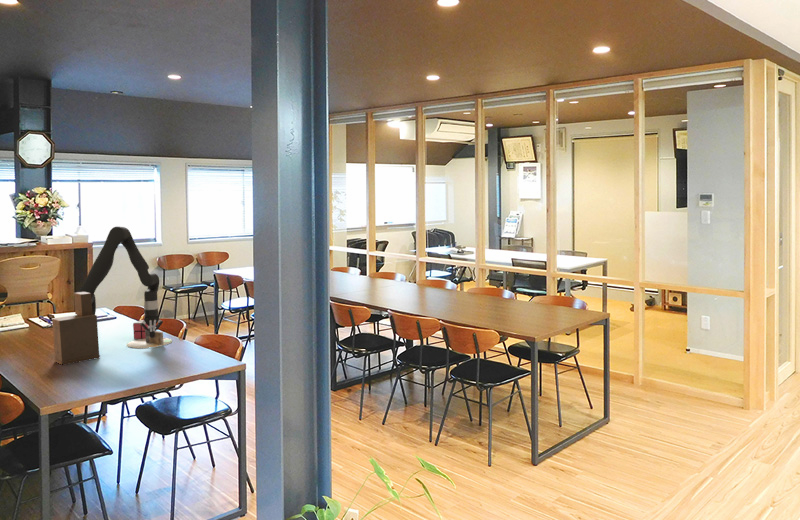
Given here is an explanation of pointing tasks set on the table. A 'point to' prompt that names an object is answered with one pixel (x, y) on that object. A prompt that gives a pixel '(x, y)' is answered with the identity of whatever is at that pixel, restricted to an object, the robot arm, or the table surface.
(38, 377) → the table surface
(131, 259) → the robot arm
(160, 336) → the peg lever
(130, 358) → the table surface
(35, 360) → the table surface
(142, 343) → the disc
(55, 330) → the stepped brown block
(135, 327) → the puzzle cube
